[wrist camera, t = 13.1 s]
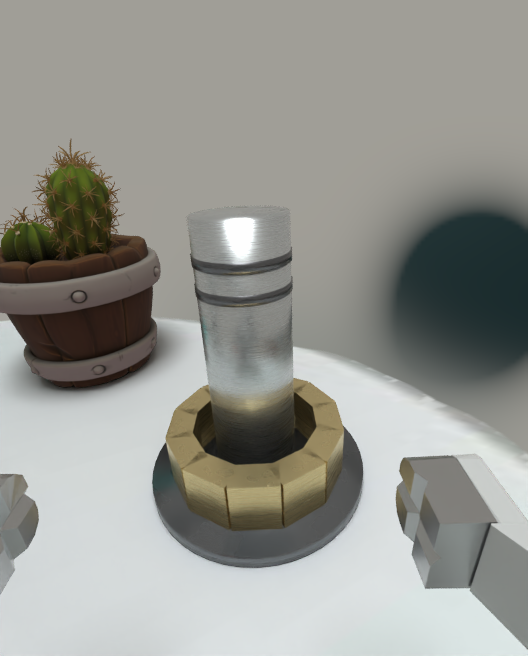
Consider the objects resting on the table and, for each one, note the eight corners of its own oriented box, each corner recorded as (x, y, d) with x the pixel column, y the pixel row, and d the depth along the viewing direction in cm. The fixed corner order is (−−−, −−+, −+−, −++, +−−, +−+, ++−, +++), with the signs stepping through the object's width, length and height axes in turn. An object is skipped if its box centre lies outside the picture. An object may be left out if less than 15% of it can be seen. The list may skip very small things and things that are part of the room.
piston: (214, 490, 22) (175, 224, 15) (222, 432, 26) (194, 208, 20) (299, 486, 22) (295, 218, 15) (292, 429, 26) (287, 203, 20)
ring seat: (125, 573, 18) (107, 519, 17) (177, 408, 30) (170, 368, 28) (391, 561, 18) (399, 506, 17) (339, 401, 30) (341, 359, 28)
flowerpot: (-8, 371, 37) (-100, 148, 29) (130, 320, 47) (92, 144, 39) (51, 431, 28) (-58, 135, 20) (205, 352, 39) (177, 134, 30)
